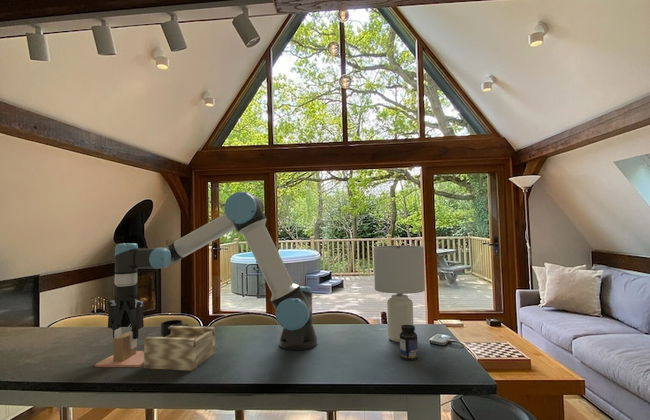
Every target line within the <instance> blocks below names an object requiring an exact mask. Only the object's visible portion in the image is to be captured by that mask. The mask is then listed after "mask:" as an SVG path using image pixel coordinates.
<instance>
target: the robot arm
mask: <svg viewBox="0 0 650 420" xmlns="http://www.w3.org/2000/svg"><path fill="white" fill-rule="evenodd" d="M223 209H224V213H223V214H222V215H220V216H218V217H217V218H214V219H213V220H210V221H209V222H207V223H205V224H204V225H202V226H200V227H198V228H196V229H194V230H193V231H191V232H189V233H188V234H186V235H184V236H182V237H180V238H178V239H177V240H175V241H173V242H171V243H169V244H167V245H164V246H161V247H154V248H153V247H151V248H150V247H149V248H140V247H139V246H138V243H134V242H132V243H131V242H130V243H129V242H127V243H123V242H122V243H117V244H116V245H115V248H114V249H115V250H114V285H115V286H114V290H113V291H114V297H115V298H114V299H113V300H109V301H107V307H108V315H107V328H108V329H111V330H112V338H113V339H114V338H116V337H118V336H120V335H122V334H123V333H122V332H123V331H122V328H121V323H122V319H123V317H124V313H125V311H126V313H127V316H128V320H129V323H130V327H131V329H130V330H129V332H130V349H133V348H135V347H136V348H137V345H138V344H137V342H138V341H137V340H138V338H139V330H140V329H141V328H144V326H145V325H144V323H145V322H144V305H145V301H144V300H138V298H137V294H138V285H137V284H138V270H139V269H157V270H159V269H166V268H168V267H169V265H174V264H176V263H177V264H178V262H180V261H181V260H182V259H183V258H186V257H187V256H189V255H190V254H192V253H194V252H196V251H198V250H200V249H201V248H203V247H205V246H207V245H209V244H211V243H212V242H214V241H216V240H217V239H218V240H219V239H220V238H221V237H224V236H225V235H227V234H229V233H230V232H232V231H234V230H236V231H237V233H238V234H241V236H242V235H243V236H244V238H245V240H246V243H247V244H248V247H249V248H250V251H251V253H252V255H253V257H254V259H255V261H256V263H257V265H258V267H259V269H260V272H261V274H262V275H263V278H264V279H265V282H266V284H267V286H268V288H269V291H270V292H271V297H270V302H271V304H272V306H273V307H274V310H275V312H274V314H275V319H276V321H277V323H278V325H279V326H280V327H282V331H281V333H280V337H279V346H280V348H282V349H285V350H289V351H290V350H292V351H299V350H300V351H302V350H303V351H304V350H309V349H311V348H313V347H316V346H317V345H318V337H317V333H316V330H315V328H314V324H313V291H312V290H313V289H312V287H310V286H304V285H303V286H300V285H299V284H297V283H294V282H293V280H292V277H291V275H290V273H289V272H288V269H287V267H286V265H285V263H284V261H283V259H282V257H281V255H280V253H279V250H278V249H277V247H276V245H275V243H274V241H273V239H272V236H271V235H270V232H269V231H268V229H267V226H266V223H267V217H266V215H265V213H264V211H265V206H264V202H263V201H262V199H261V198H260V197H258V196H257V195H254V194H253V193H250V192H248V191H237V192H234V193H233V194H232V193H231V195H229V196H228V197H227V199H226V201H225V203H224V207H223Z"/></svg>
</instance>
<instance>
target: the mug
mask: <svg viewBox="0 0 650 420" xmlns="http://www.w3.org/2000/svg"><path fill="white" fill-rule="evenodd" d="M170 326H191V324H186V323H185V324H184V322H183V320H181V319H171V320H166V321H162V322H160V337H166V336H168V335H170V334H171V329H168V327H170Z"/></svg>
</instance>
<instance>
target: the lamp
mask: <svg viewBox="0 0 650 420" xmlns="http://www.w3.org/2000/svg"><path fill="white" fill-rule="evenodd" d="M424 248H425V247H424V246H422V245H408V244H407V245H401V244H397V245H377V246H373V263H374V264H373V269H374V272H373V273H374V276H373V277H374V290H375V291H377V292H378V293H379V292H380V293H385V294H391V297H390V298H389V299H387V302H386V304H387V306H386V307H387V309H386V310H387V312H386V313H387V335H388V338H389V340H391V341H392V342H395V343H400V333H401V332H402V329H401V326H402V325H413V326H415V324H414V305H413V303H414V302H413V300H412V299H410V297H409V296H408V294H409V295H410V294H411V295H412V294H419V293H423V292H425V291H426V286H425V284H426V282H425V279H426V277H425V257H424V256H425V254H424V253H425V252H424V251H425V250H424Z"/></svg>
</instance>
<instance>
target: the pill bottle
mask: <svg viewBox="0 0 650 420" xmlns="http://www.w3.org/2000/svg"><path fill="white" fill-rule="evenodd" d="M413 325H414V324H413ZM413 325H402V326H401V329H402V332H401V333H400V342H399V351H400V355H399V356H400V358H401V359H403V360H406V361H415V360H417V359H418V358H419V352H418V351H419V350H418V349H419V348H418V346H419V345H418V334H417V333H416V332H415V330H416V326H415V325H414V326H413Z"/></svg>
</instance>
